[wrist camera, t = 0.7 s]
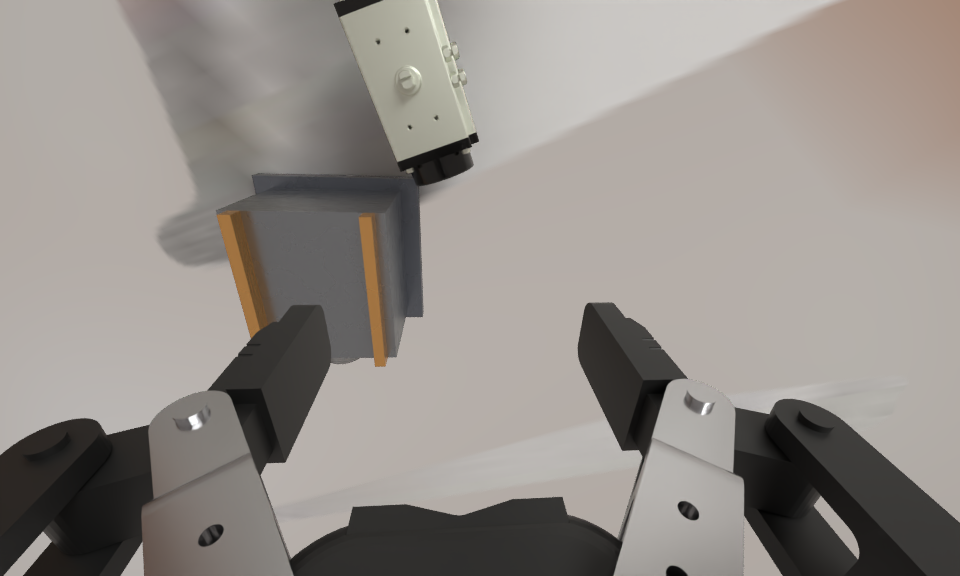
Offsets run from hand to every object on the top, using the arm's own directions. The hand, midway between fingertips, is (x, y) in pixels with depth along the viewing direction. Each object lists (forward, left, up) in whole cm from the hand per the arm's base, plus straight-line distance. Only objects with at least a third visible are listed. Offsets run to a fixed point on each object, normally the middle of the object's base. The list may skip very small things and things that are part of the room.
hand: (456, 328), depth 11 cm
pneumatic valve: (-8, -2, -25) cm, 27 cm away
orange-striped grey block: (+6, -10, -25) cm, 28 cm away
